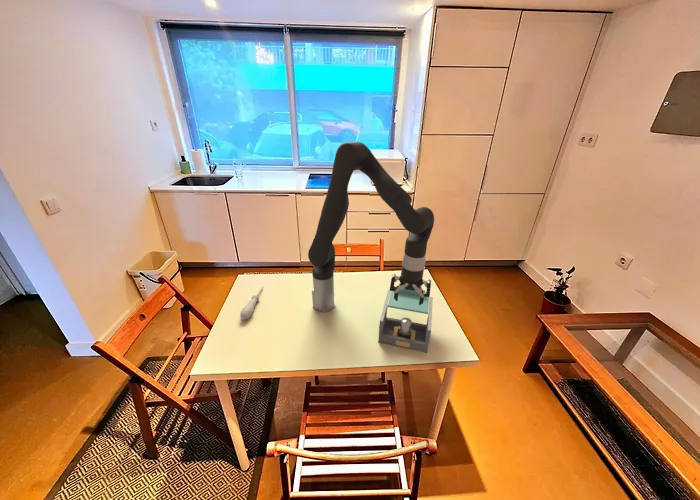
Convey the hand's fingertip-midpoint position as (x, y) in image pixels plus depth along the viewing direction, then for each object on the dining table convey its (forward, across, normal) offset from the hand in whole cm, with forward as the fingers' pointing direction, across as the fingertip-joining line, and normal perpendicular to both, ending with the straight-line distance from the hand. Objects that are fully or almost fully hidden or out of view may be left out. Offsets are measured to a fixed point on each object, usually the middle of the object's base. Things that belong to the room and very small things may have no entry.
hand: (408, 301), depth 107 cm
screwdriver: (+20, +70, -4) cm, 73 cm away
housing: (+20, 0, -6) cm, 20 cm away
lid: (+8, 0, -11) cm, 14 cm away
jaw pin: (+18, 0, 0) cm, 19 cm away
